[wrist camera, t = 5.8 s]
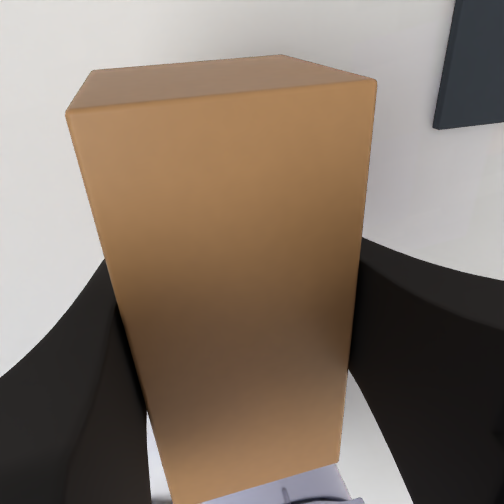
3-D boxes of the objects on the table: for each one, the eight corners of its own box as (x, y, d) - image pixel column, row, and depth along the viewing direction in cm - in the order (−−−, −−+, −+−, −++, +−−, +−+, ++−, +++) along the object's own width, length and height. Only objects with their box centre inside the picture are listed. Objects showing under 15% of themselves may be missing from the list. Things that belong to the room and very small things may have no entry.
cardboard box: (286, 349, 15) (339, 463, 11) (162, 378, 14) (174, 512, 10) (283, 54, 10) (380, 78, 6) (89, 69, 9) (62, 110, 5)
